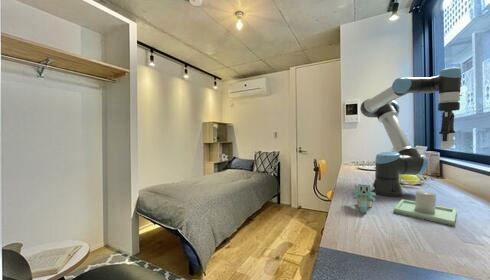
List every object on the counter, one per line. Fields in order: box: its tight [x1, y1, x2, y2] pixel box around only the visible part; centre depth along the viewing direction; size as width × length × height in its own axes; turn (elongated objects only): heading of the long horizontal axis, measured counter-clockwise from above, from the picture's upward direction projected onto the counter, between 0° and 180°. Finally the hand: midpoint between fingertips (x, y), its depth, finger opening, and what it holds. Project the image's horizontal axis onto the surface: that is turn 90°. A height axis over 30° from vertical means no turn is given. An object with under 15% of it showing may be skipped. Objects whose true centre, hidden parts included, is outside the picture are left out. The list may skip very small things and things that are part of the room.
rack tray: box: [393, 198, 457, 227], centre depth 100 cm, size 20×17×2 cm
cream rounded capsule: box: [414, 190, 437, 214], centre depth 99 cm, size 7×7×8 cm
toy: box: [352, 183, 377, 214], centre depth 105 cm, size 10×13×15 cm
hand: (446, 147), depth 106 cm, fingers open, 13 cm apart
